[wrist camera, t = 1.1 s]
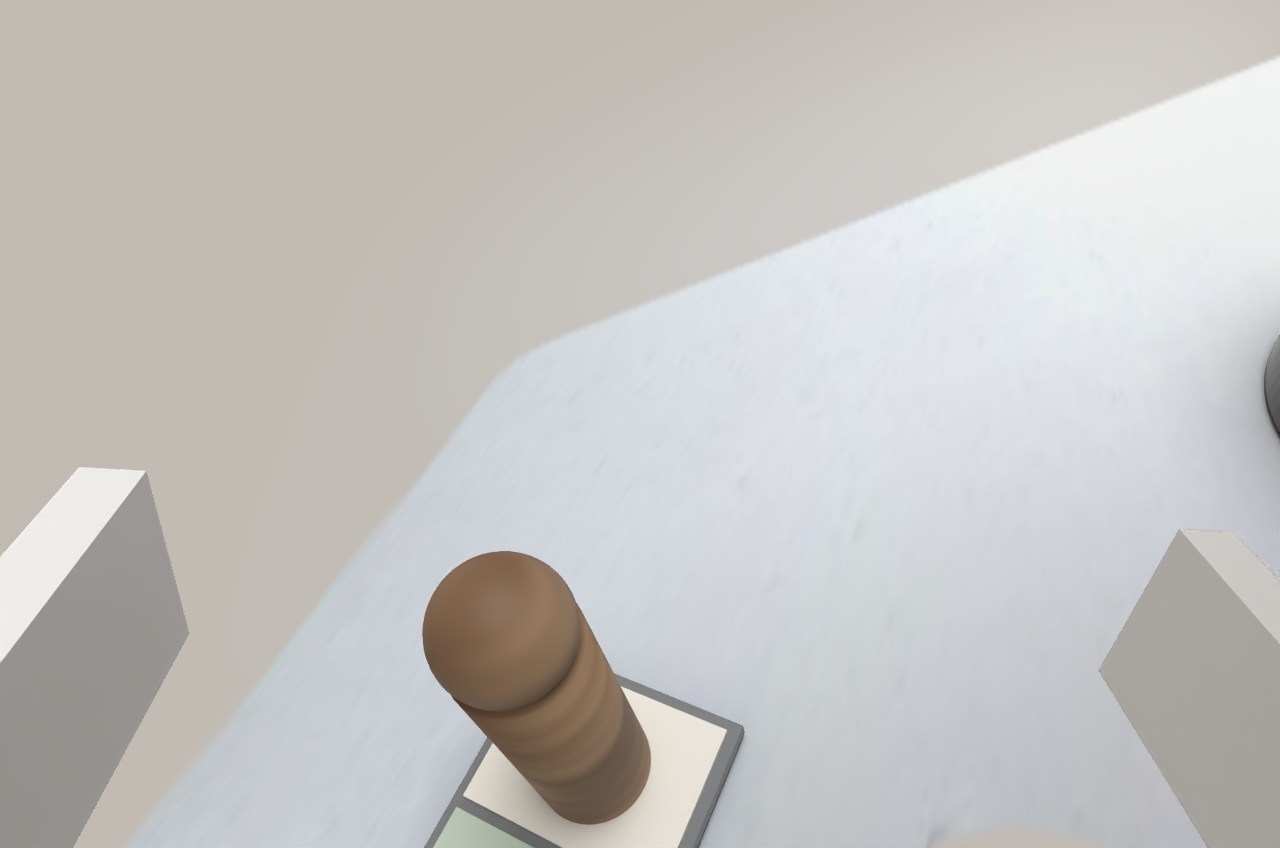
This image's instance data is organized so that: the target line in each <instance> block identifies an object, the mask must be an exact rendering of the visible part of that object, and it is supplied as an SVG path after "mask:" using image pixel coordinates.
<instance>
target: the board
mask: <svg viewBox="0 0 1280 848" xmlns="http://www.w3.org/2000/svg"><path fill="white" fill-rule="evenodd" d="M614 675H615V677H616V679H617V680H618V682H619V684H620V686H621V688H622V690H623V692H624V694H625V696H626V698H627V700H628V702H629V704H630V705H631V707H632V709H633V711H634V713H635V715H636V717H637V719H638V721H639V723H640V725H641V727H642V729H643V731H644V732H645V735H646V737H647V739H648V742H649V746H650V752H651V767H650V773H649V777H648V780H647V783H646V785H645V788H644V789H643V791H642V793H641V795H640V796H639V798H638V799H637V800H636V802H635V803H634V804H633V805H632V806H631V807H630V808H629V809H628V810H627V811H625V812H624V813H623V814H621V815H620V816H618V817H616V818H614V819H612V820H610V821H607V822H604V823H599V824H591V825H586V824H578V823H574V822H571V821H569V820H566V819H565V818H563V817H561V816H560V815H558V814H557V813H556V812H555V811H554V810H553V809H552V808H551V807H550V806H549V805H548V804H547V802H546V801H545V800H544V799H543V798H542V797H541V796H540V795H539V794H538V792H537V791H536V790H535V789H534V788H533V787H532V786H531V785H530V784H529V782H528V781H527V780H526V779H525V778H524V777H523V776H522V775H521V774H520V772H519V771H518V770H517V769H516V768H515V767H514V766H513V765H512V764H511V762H510V761H509V760H508V759H507V758H506V757H505V756H504V755H503V754H502V752H501V751H500V750H499V749H498V748H497V747H496V746H495V745H494V744H493V742H492V741H491V740H490V739H489V738H488V737H487V739H486V741H485V743H484V744H483V746H482V748H481V750H480V751H479V753H478V755H477V757H476V758H475V760H474V762H473V764H472V765H471V767H470V769H469V770H468V772H467V774H466V776H465V777H464V779H463V781H462V783H461V784H460V786H459V788H458V790H457V791H456V793H455V795H454V797H453V798H452V800H451V802H450V804H449V805H448V807H447V809H446V810H445V812H444V814H443V816H442V817H441V819H440V821H439V823H438V824H437V826H436V828H435V830H434V831H433V833H432V835H431V837H430V838H429V840H428V842H427V844H426V845H425V847H424V848H697V847H698V845H699V843H700V840H701V838H702V835H703V833H704V830H705V828H706V825H707V823H708V820H709V818H710V816H711V813H712V811H713V808H714V806H715V803H716V801H717V798H718V796H719V794H720V791H721V789H722V786H723V784H724V781H725V779H726V776H727V774H728V771H729V769H730V767H731V764H732V762H733V759H734V757H735V754H736V752H737V749H738V747H739V745H740V742H741V740H742V737H743V735H744V728H743V726H742V725H740V724H737V723H735V722H732V721H730V720H727V719H725V718H722V717H720V716H717V715H715V714H713V713H710V712H708V711H705V710H703V709H700V708H698V707H695V706H693V705H690V704H688V703H685V702H683V701H680V700H678V699H676V698H673V697H671V696H668V695H666V694H663V693H661V692H658V691H656V690H653V689H651V688H648V687H646V686H644V685H641V684H639V683H636V682H634V681H631V680H629V679H626V678H624V677H621V676H619V675H616V674H614Z"/></svg>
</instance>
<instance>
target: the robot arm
mask: <svg viewBox="0 0 1280 848" xmlns="http://www.w3.org/2000/svg"><path fill="white" fill-rule="evenodd" d="M1265 388H1266V397H1267V401H1268V406H1269V409H1270V412H1271V415H1272V418H1273V420H1274V422H1275V425H1276V427H1277V429H1278V431H1279V432H1280V336H1279V338H1278V340H1277V342H1276V344H1275V346H1274V348H1273V350H1272V352H1271V355H1270V357H1269V360H1268V364H1267V369H1266V375H1265ZM188 635H189V630H188V626H187V623H186V619H185V615H184V611H183V608H182V604H181V601H180V596H179V592H178V589H177V585H176V581H175V577H174V574H173V570H172V566H171V562H170V558H169V555H168V551H167V547H166V543H165V540H164V536H163V532H162V528H161V525H160V521H159V517H158V514H157V509H156V506H155V502H154V498H153V494H152V491H151V487H150V483H149V479H148V475H147V472H146V471H137V470H119V469H101V468H84V467H83V468H82V467H79V468H78V469H77V470H76V472H75V473H74V474H73V475H72V476H71V477H70V478H69V480H68V481H67V482H66V483H65V484H64V485H63V486H62V487H61V489H60V490H59V491H58V492H57V493H56V494H55V495H54V497H53V498H52V499H51V500H50V501H49V502H48V503H47V505H46V506H45V507H44V508H43V509H42V510H41V511H40V512H39V514H38V515H37V516H36V517H35V518H34V519H33V521H32V522H31V523H30V524H29V525H28V526H27V527H26V528H25V530H24V531H23V532H22V533H21V534H20V535H19V536H18V538H17V539H16V540H15V541H14V542H13V543H12V544H11V546H10V547H9V548H8V549H7V550H6V551H5V552H4V554H3V555H2V556H1V557H0V848H73V847H74V845H75V843H76V841H77V839H78V837H79V836H80V834H81V832H82V830H83V828H84V826H85V824H86V823H87V821H88V819H89V817H90V815H91V813H92V812H93V810H94V808H95V806H96V804H97V802H98V801H99V798H100V797H101V795H102V793H103V791H104V789H105V788H106V786H107V784H108V782H109V780H110V778H111V777H112V775H113V773H114V771H115V769H116V767H117V765H118V764H119V762H120V760H121V758H122V756H123V754H124V753H125V750H126V749H127V747H128V745H129V743H130V742H131V740H132V738H133V736H134V734H135V732H136V730H137V729H138V727H139V725H140V723H141V721H142V719H143V718H144V716H145V714H146V712H147V710H148V708H149V707H150V705H151V703H152V701H153V699H154V697H155V695H156V694H157V692H158V690H159V688H160V686H161V684H162V683H163V681H164V679H165V677H166V675H167V673H168V672H169V670H170V668H171V666H172V664H173V662H174V660H175V659H176V657H177V655H178V653H179V651H180V650H181V648H182V646H183V644H184V642H185V640H186V638H187V637H188ZM1099 672H1100V674H1101V675H1102V677H1103V679H1104V680H1105V682H1106V684H1107V685H1108V687H1109V688H1110V690H1111V692H1112V693H1113V695H1114V697H1115V698H1116V700H1117V701H1118V703H1119V705H1120V706H1121V708H1122V709H1123V711H1124V713H1125V714H1126V716H1127V718H1128V719H1129V721H1130V722H1131V724H1132V726H1133V727H1134V729H1135V730H1136V732H1137V734H1138V735H1139V737H1140V739H1141V740H1142V742H1143V743H1144V745H1145V747H1146V748H1147V750H1148V752H1149V753H1150V755H1151V756H1152V758H1153V760H1154V761H1155V763H1156V764H1157V766H1158V768H1159V769H1160V771H1161V773H1162V774H1163V776H1164V777H1165V779H1166V781H1167V782H1168V784H1169V786H1170V787H1171V789H1172V790H1173V792H1174V794H1175V795H1176V797H1177V798H1178V800H1179V802H1180V803H1181V805H1182V807H1183V808H1184V810H1185V811H1186V813H1187V815H1188V816H1189V818H1190V820H1191V821H1192V823H1193V824H1194V826H1195V828H1196V829H1197V831H1198V832H1199V834H1200V836H1201V837H1202V839H1203V841H1204V842H1205V844H1206V845H1207V847H1208V848H1280V581H1279V579H1278V578H1277V577H1276V576H1275V575H1274V574H1273V573H1272V572H1271V571H1270V570H1269V569H1268V568H1267V567H1266V566H1265V565H1264V564H1263V563H1262V562H1261V561H1260V560H1259V558H1258V557H1257V556H1256V555H1255V554H1254V553H1253V552H1252V551H1251V550H1250V549H1249V548H1248V547H1247V546H1246V545H1245V544H1244V543H1243V542H1242V541H1241V540H1240V538H1239V537H1238V536H1237V535H1236V534H1235V533H1234V532H1223V531H1205V530H1187V529H1179V530H1178V532H1177V534H1176V536H1175V537H1174V539H1173V541H1172V543H1171V545H1170V546H1169V548H1168V550H1167V552H1166V553H1165V555H1164V557H1163V559H1162V560H1161V562H1160V564H1159V566H1158V567H1157V569H1156V571H1155V573H1154V574H1153V576H1152V578H1151V580H1150V581H1149V583H1148V585H1147V587H1146V588H1145V590H1144V592H1143V594H1142V595H1141V597H1140V599H1139V601H1138V602H1137V604H1136V606H1135V608H1134V609H1133V611H1132V613H1131V615H1130V616H1129V618H1128V620H1127V622H1126V623H1125V625H1124V627H1123V629H1122V630H1121V632H1120V634H1119V636H1118V637H1117V639H1116V641H1115V643H1114V644H1113V646H1112V648H1111V650H1110V652H1109V653H1108V655H1107V657H1106V659H1105V660H1104V662H1103V664H1102V666H1101V667H1100V669H1099Z"/></svg>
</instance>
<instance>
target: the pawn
mask: <svg viewBox="0 0 1280 848" xmlns="http://www.w3.org/2000/svg"><path fill="white" fill-rule="evenodd" d="M422 636H423V646H424V652H425V656H426V659H427V662H428V664H429V667H430V669H431V671H432V673H433V674H434V676H435V678H436V679H437V681H438V682H439V683H440V685H441V686H442V687H443V688H444V689H445V690H446V691H447V692H448V693H450V694H451V696H452V697H453V699H454V700H455V701H456V702H457V703H458V705H459V706H460V707H461V708H462V709H463V710H464V711H465V712H466V713H467V715H468V716H469V717H470V718H471V719H472V720H473V721H474V722H475V723H476V725H477V726H478V727H479V728H480V729H481V730H482V731H483V732H484V733H485V735H486V736H487V737H488V738H489V739H490V740H491V741H492V742H493V744H494V745H495V746H496V747H497V748H498V749H499V750H500V751H501V752H502V754H503V755H504V756H505V757H506V758H507V759H508V760H509V761H510V762H511V764H512V765H513V766H514V767H515V768H516V769H517V770H518V771H519V772H520V774H521V775H522V776H523V777H524V778H525V779H526V780H527V781H528V782H529V784H530V785H531V786H532V787H533V788H534V789H535V790H536V791H537V792H538V794H539V795H540V796H541V797H542V798H543V799H544V800H545V801H546V802H547V804H548V805H549V806H550V807H551V808H552V809H553V810H554V811H555V812H556V813H557V814H558V815H560V816H561V817H563V818H565V819H566V820H569V821H571V822H574V823H578V824H586V825H591V824H599V823H604V822H607V821H610V820H612V819H614V818H616V817H618V816H620V815H621V814H623V813H624V812H625V811H627V810H628V809H629V808H630V807H631V806H632V805H633V804H634V803H635V802H636V800H637V799H638V798H639V796H640V795H641V793H642V791H643V789H644V788H645V785H646V783H647V780H648V777H649V773H650V767H651V752H650V746H649V742H648V739H647V737H646V735H645V732H644V731H643V729H642V727H641V725H640V723H639V721H638V719H637V717H636V715H635V713H634V711H633V709H632V707H631V705H630V704H629V702H628V700H627V698H626V696H625V694H624V692H623V690H622V688H621V686H620V684H619V682H618V680H617V679H616V677H615V675H614V673H613V671H612V669H611V667H610V665H609V663H608V661H607V659H606V657H605V655H604V653H603V652H602V650H601V648H600V646H599V644H598V642H597V640H596V638H595V636H594V634H593V632H592V630H591V628H590V627H589V625H588V623H587V621H586V619H585V617H584V615H583V613H582V611H581V609H580V608H579V606H578V604H577V603H576V602H575V599H574V597H573V594H572V592H571V590H570V589H569V587H568V585H567V584H566V582H565V581H564V580H563V579H562V577H561V576H560V575H559V574H558V573H557V572H556V571H555V570H553V569H552V568H551V567H550V566H549V565H547V564H546V563H544V562H542V561H541V560H539V559H537V558H534V557H532V556H530V555H526V554H522V553H518V552H511V551H500V552H490V553H486V554H482V555H479V556H476V557H474V558H471V559H469V560H467V561H465V562H464V563H462V564H460V565H459V566H458V567H456V568H455V569H454V570H452V571H451V572H450V573H449V574H448V575H447V576H446V577H445V578H444V579H443V580H442V581H441V583H440V584H439V585H438V587H437V588H436V590H435V592H434V593H433V595H432V597H431V599H430V601H429V604H428V606H427V609H426V612H425V617H424V622H423V634H422Z"/></svg>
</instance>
